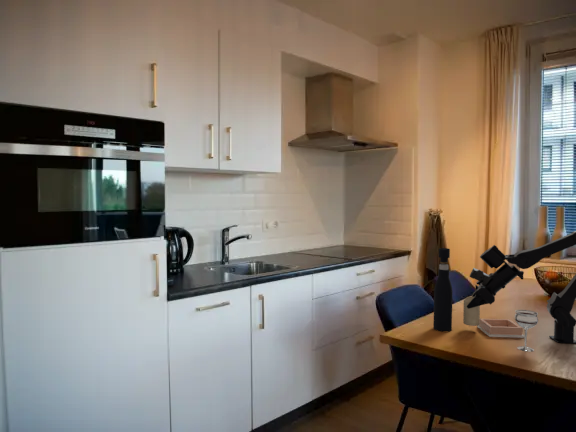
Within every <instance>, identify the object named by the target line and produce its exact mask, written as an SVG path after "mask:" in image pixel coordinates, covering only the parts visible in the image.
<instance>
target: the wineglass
mask: <svg viewBox="0 0 576 432" xmlns="http://www.w3.org/2000/svg"><path fill="white" fill-rule="evenodd" d="M514 312H515V314H514V321H515V323H516V324H517V325H519V326H520V327H522V328H523V330H524V335H525V338H524V345H521V346H517V347H516V349H518V350H519V351H523V352H534V351H535V349H534V348H532V347H529V346H527V339H528V338H527V337H528V331H529V330H530V329H533V328H534V327H535V326H537V325H538V323H539V317H538V315H539V313H538V312H537V311H534V310H529V309H515V310H514Z"/></svg>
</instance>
